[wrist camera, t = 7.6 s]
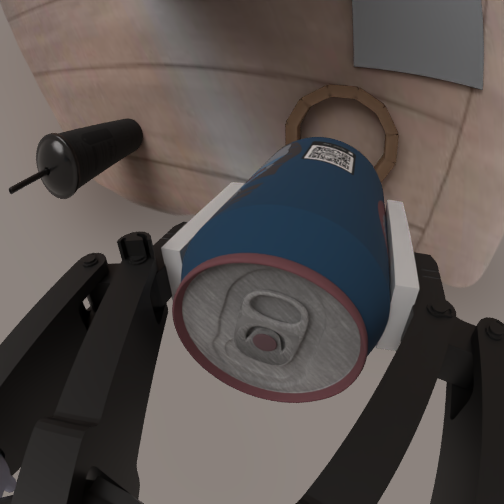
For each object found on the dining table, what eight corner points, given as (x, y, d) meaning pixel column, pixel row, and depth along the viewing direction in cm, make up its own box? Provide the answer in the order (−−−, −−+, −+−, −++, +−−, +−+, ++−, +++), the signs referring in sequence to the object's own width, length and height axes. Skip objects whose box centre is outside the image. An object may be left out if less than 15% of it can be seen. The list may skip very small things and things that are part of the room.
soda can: (358, 257, 20) (332, 431, 10) (256, 222, 21) (157, 365, 11) (399, 156, 16) (441, 298, 6) (279, 117, 17) (152, 198, 7)
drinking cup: (108, 108, 39) (-12, 152, 23) (150, 109, 37) (22, 156, 21) (110, 157, 43) (2, 218, 27) (151, 163, 41) (38, 232, 25)
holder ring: (289, 182, 37) (285, 188, 35) (289, 82, 30) (284, 83, 29) (389, 195, 33) (390, 201, 32) (399, 92, 27) (401, 93, 26)
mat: (353, 66, 27) (353, 66, 27) (349, -35, 21) (349, -37, 21) (480, 89, 23) (482, 89, 23) (478, -12, 17) (479, -13, 16)
